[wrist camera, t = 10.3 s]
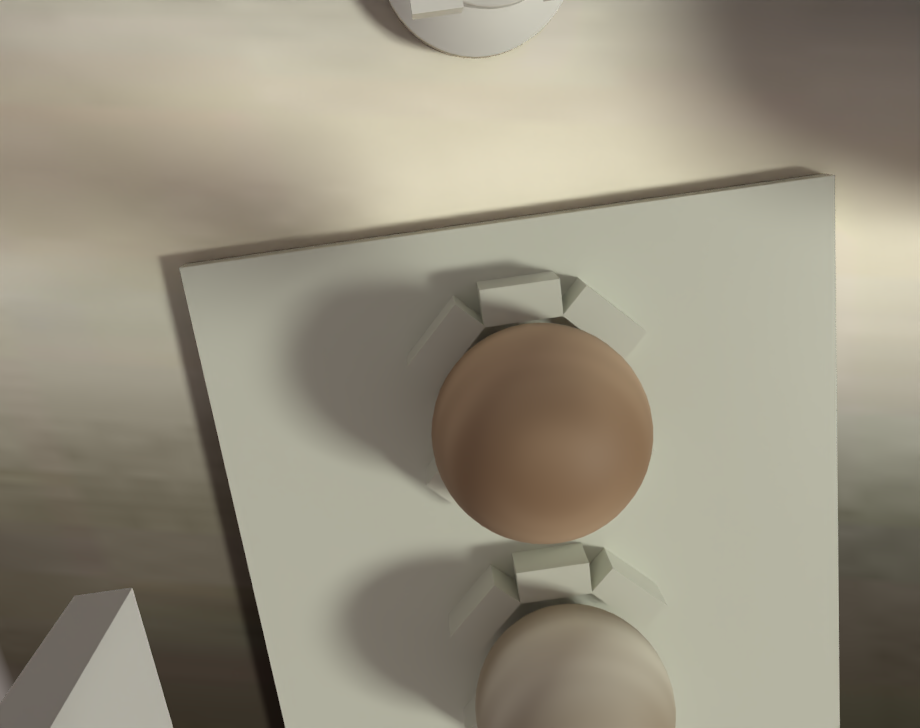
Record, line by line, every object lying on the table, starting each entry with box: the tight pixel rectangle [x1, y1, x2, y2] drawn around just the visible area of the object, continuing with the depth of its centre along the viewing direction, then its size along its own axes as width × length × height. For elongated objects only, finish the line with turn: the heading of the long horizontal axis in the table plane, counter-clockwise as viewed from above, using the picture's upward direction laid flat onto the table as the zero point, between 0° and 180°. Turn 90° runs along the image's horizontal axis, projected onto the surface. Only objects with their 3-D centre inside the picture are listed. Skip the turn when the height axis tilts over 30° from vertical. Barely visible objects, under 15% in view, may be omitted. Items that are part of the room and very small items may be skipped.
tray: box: [179, 174, 840, 728], centre depth 23 cm, size 24×16×2 cm, turn 8°
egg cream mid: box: [475, 604, 676, 728], centre depth 21 cm, size 5×5×5 cm
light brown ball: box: [431, 323, 653, 544], centre depth 19 cm, size 5×5×5 cm
